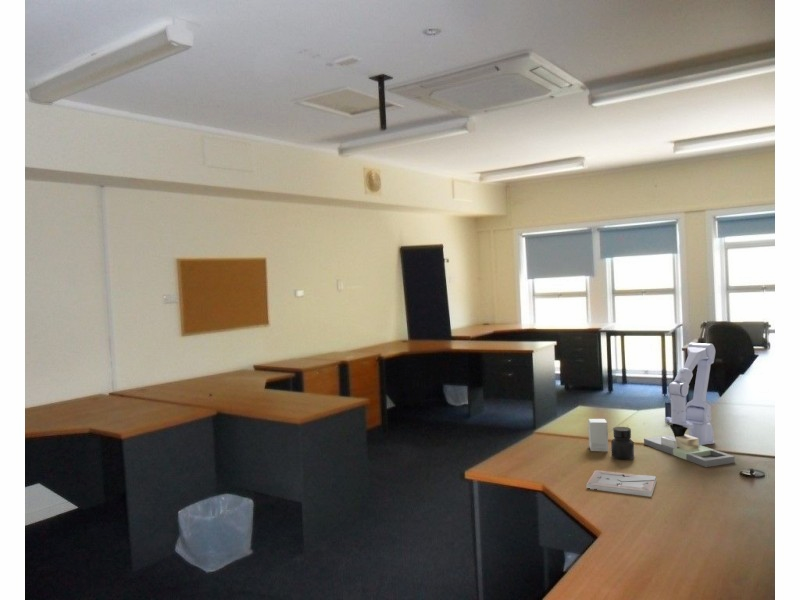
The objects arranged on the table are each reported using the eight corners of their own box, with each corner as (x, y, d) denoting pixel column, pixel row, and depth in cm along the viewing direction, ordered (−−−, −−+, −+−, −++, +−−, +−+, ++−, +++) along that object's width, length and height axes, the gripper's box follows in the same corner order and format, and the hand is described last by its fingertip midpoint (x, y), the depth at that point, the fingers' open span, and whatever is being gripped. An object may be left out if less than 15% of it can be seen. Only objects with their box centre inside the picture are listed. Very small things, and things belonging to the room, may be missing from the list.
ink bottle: (634, 454, 253) (634, 426, 252) (635, 461, 245) (635, 431, 244) (610, 453, 256) (609, 425, 256) (610, 459, 248) (609, 430, 247)
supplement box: (608, 451, 259) (607, 422, 258) (590, 451, 260) (589, 422, 260) (606, 446, 266) (605, 418, 266) (588, 446, 268) (587, 418, 267)
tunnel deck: (670, 440, 271) (669, 428, 271) (734, 462, 237) (734, 448, 237) (644, 444, 268) (643, 431, 267) (705, 467, 233) (705, 453, 233)
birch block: (687, 444, 256) (687, 435, 255) (698, 448, 250) (698, 438, 250) (675, 446, 254) (675, 436, 254) (686, 450, 248) (686, 440, 248)
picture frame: (656, 482, 220) (595, 475, 231) (656, 476, 220) (595, 469, 231) (651, 498, 206) (586, 489, 216) (651, 491, 206) (586, 483, 216)
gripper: (658, 408, 262) (659, 439, 262) (683, 414, 248) (684, 447, 248) (672, 406, 264) (673, 437, 264) (697, 413, 250) (698, 445, 250)
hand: (679, 442), depth 256 cm, fingers closed
